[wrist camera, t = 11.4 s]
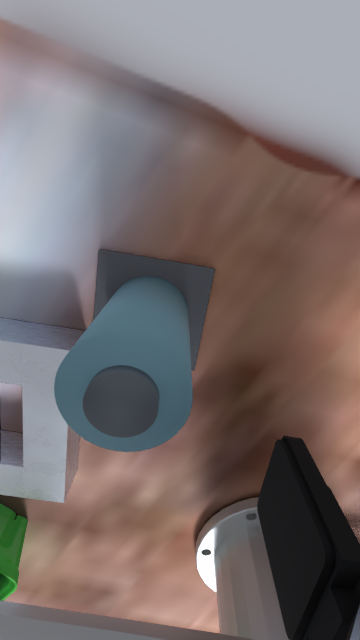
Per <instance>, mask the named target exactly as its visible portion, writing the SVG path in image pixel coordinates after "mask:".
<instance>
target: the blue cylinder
mask: <svg viewBox="0 0 360 640" xmlns="http://www.w3.org/2000/svg"><path fill="white" fill-rule="evenodd" d="M54 395H55V400H56V404H57V407H58V410H59V411H60V413H61V415H62V417H63V419H64V420H65V421H66V423H67V424H68V425H69V426H70V427H71V429H72V430H74V431H75V432H76V433H77V434H78V435H79V436H81V437H82V438H84V439H85V440H87V441H89V442H91V443H92V444H95V445H97V446H100V447H103V448H106V449H110V450H115V451H124V452H133V451H142V450H146V449H150V448H153V447H156V446H158V445H160V444H162V443H164V442H166V441H167V440H169V439H171V438H172V437H173V436H174V435H175V434H176V433H177V432H178V431H179V430H180V429H181V428H182V427H183V425H184V424H185V422H186V421H187V418H188V416H189V414H190V411H191V407H192V400H193V393H192V373H191V354H190V334H189V315H188V306H187V303H186V301H185V298H184V297H183V295H182V293H181V292H180V291H179V290H178V289H177V288H176V287H175V286H174V285H173V284H171V283H170V282H168V281H166V280H164V279H162V278H158V277H154V276H142V277H137V278H134V279H131V280H129V281H127V282H126V283H124V284H123V285H122V286H121V287H120V288H119V289H118V290H117V291H116V292H115V294H114V295H113V296H112V298H111V299H110V300H109V301H108V303H107V304H106V305H105V306H104V308H103V309H102V310H101V312H100V313H99V314H98V315H97V317H96V318H95V319H94V321H93V322H92V323H91V324H90V326H89V327H88V328H87V330H86V331H85V332H84V333H83V335H82V336H81V337H80V338H79V340H78V341H77V342H76V344H75V345H74V346H73V347H72V349H71V350H70V351H69V353H68V354H67V355H66V356H65V358H64V359H63V361H62V362H61V364H60V366H59V368H58V370H57V373H56V377H55V382H54Z"/></svg>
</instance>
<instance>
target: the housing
mask: <svg viewBox="0 0 360 640" xmlns="http://www.w3.org/2000/svg"><path fill="white" fill-rule="evenodd" d="M84 332H85V331H83V330H76V329H70V328H63V327H57V326H50V325H44V324H37V323H31V322H25V321H18V320H12V319H5V318H0V382H1V383H8V384H15V385H22V398H23V433H17V432H10V431H3V430H1V462H0V495H6V496H14V497H22V498H30V499H38V500H46V501H54V502H62V503H64V502H65V499H66V497H67V494H68V492H69V489H70V487H71V484H72V482H73V479H74V477H75V474H76V472H77V469H78V455H79V440H80V436H79V435H78V434H77V433H76V432H75V431H74V430H72V429H71V427H70V426H69V425H68V424H67V423H66V421H65V420H64V419H63V417H62V415H61V413H60V411H59V410H58V407H57V404H56V400H55V395H54V382H55V377H56V373H57V370H58V368H59V366H60V364H61V362H62V361H63V359H64V358H65V356H66V355H67V354H68V353H69V351H70V350H71V349H72V347H73V346H74V345H75V344H76V342H77V341H78V340H79V338H80V337H81V336H82V335H83V333H84Z"/></svg>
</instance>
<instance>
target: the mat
mask: <svg viewBox="0 0 360 640" xmlns="http://www.w3.org/2000/svg"><path fill="white" fill-rule="evenodd" d="M214 272H215V268H211V267H205V266H199V265H193V264H187V263H181V262H175V261H169V260H163V259H157V258H151V257H145V256H139V255H133V254H127V253H121V252H115V251H109V250H103V249H99V253H98V267H97V281H96V294H95V308H94V319H95V318H96V317H97V315H98V314H99V313H100V312H101V310H102V309H103V308H104V306H105V305H106V304H107V303H108V301H109V300H110V299H111V298H112V296H113V295H114V294H115V292H116V291H117V290H118V289H119V288H120V287H121V286H122V285H123V284H124V283H126V282H127V281H129V280H131V279H134V278H137V277H142V276H154V277H158V278H162V279H164V280H166V281H168V282H170V283H171V284H173V285H174V286H175V287H176V288H177V289H178V290H179V291H180V292H181V293H182V295H183V297H184V298H185V301H186V303H187V306H188V315H189V334H190V354H191V370H194V369H195V364H196V359H197V355H198V350H199V345H200V340H201V335H202V330H203V325H204V321H205V316H206V311H207V306H208V301H209V296H210V291H211V287H212V282H213V277H214Z"/></svg>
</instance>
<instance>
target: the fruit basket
mask: <svg viewBox="0 0 360 640" xmlns="http://www.w3.org/2000/svg"><path fill="white" fill-rule="evenodd" d="M27 522H28V520H27V519H26V518H25V517H22V516H20V515H16V513H15V512H14V511H13V510H11V509H10V508H8V507H6V506H5V505H3V504H1V503H0V601H3V600H5V599H6V598H7V597H8V596H9V595H11V594H12V593H13V592H14V591H15V590H16V588H17V583H18V576H19V570H18V567H19V562H20V557H21V552H22V547H23V542H24V537H25V532H26V527H27Z"/></svg>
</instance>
